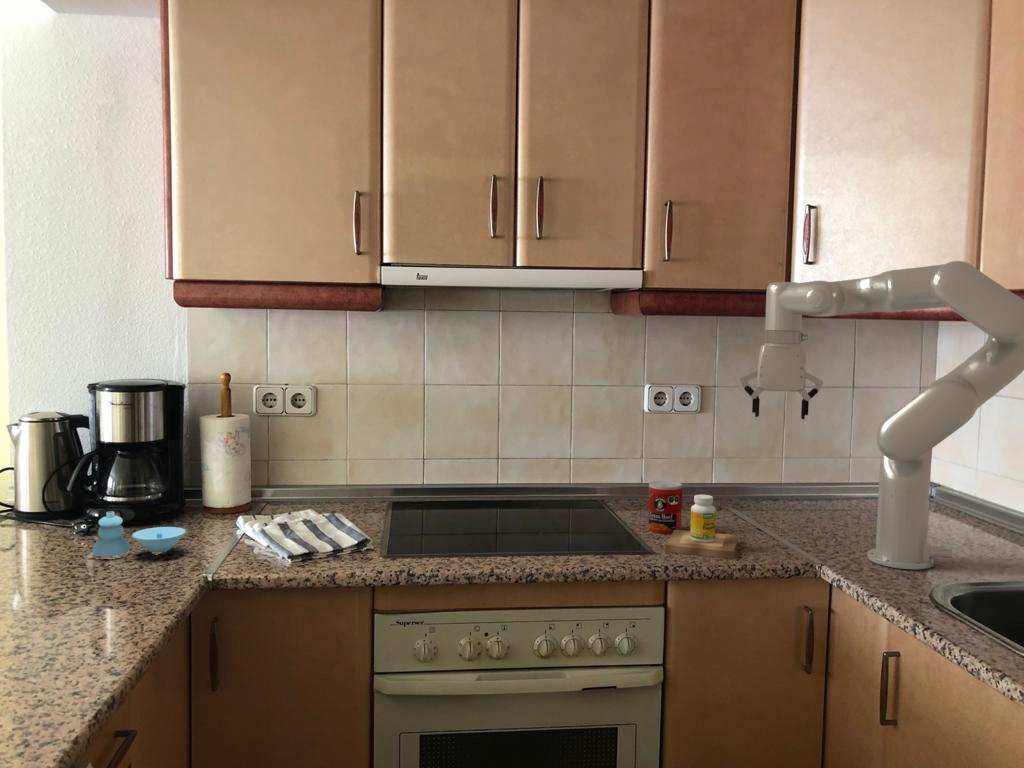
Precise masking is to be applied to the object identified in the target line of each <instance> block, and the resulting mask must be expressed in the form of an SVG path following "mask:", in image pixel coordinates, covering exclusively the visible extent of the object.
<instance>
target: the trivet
mask: <svg viewBox="0 0 1024 768" xmlns="http://www.w3.org/2000/svg"><path fill="white" fill-rule="evenodd" d="M690 533H691V530H683V529H680V530H674V532H673V533H672V534H671V535H670V537H669V538H668V540H667V542H666V543H665V553H672V554H673V553H674V554H682V555H683V554H684V555H691V556H692V555H693V556H703V557H712V558H725V559H734V556H735V553H736V549H737V546H738V542H739V541H738V537H739V535H738V534H728V533H726V534H725V533H716V532H715V540H714V541H713V542H697V541H693V540H692V539H691V537H690Z"/></svg>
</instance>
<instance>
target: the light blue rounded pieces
mask: <svg viewBox="0 0 1024 768" xmlns="http://www.w3.org/2000/svg"><path fill="white" fill-rule="evenodd" d="M105 513H106V516H103V517H102V518H100V519H99V520H98V525H99V526H100V527H99V528H98V530H97V535H98V537H99V539H98V540H97V541H95V544H94V546H93V549H92V556H93V555H95V556H101V557H104V556H115V555H120V554H124V553H127V552H128V551H129V549H130V544H129V542H128V540H127V539H126V538H124V537H123V534H124V533H125V529H124V527H123V526H122V525H121V524H122V523H123V518H122V517H121V516H118V515H115V511H107V512H105ZM186 533H187V529H186V528H183V527H179V526H178V527H176V526H159V527H157V526H156V527H151V528H150V527H149V528H145V529H140V530H137V531H135V532H133V533H132V534H131V537H132V538H133V539H134V540H136V542H138V543H139V544H140V545H141V546H143V548H144V549H146V550H147V551H148V552H149V553H151V552H165V551H168V550H169V551H170V550H171V549H172V548H173V547H174V546H175V545H176V544H177V543H178V542H179V540H180V539H181V538H182V537H183V536H184V535H185V534H186ZM169 551H168V552H169Z"/></svg>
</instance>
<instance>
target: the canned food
mask: <svg viewBox="0 0 1024 768" xmlns="http://www.w3.org/2000/svg"><path fill="white" fill-rule="evenodd" d="M647 509H648V510H647V516H648V517H647V526H648V530H649V531H650V532H651V533H652V532H653V533H655V532H656V534H662V533H663V534H664V535H665V534H667V535H670V534H671V535H672V533H673V532H674V530H682V529H681V528H682V518H683V517H682V516H683V515H682V513H683V510H682V509H683V483H681V482H678V481H673V480H655V481H650V482H649V484H648V505H647Z"/></svg>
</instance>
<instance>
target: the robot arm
mask: <svg viewBox="0 0 1024 768" xmlns="http://www.w3.org/2000/svg"><path fill="white" fill-rule="evenodd" d="M765 295H766V298H765V299H766V300H765V323H764V325H765V327H764V344H761V346H760V349H759V354H758V363H757V370H755V371H752V372H750V373H749V374H746V375H744V376H742V377H741V378H740V383H741V385H742V387H743V388H744V391H745V392H746V393H747V394H748V395H749V396H750V397H751V399H752V404H751V406H752V407H751V410H752V411H751V413H753V414H754V413H755V414H754V417H755V418H758V417H759V416H760V398H759V395H760V394H761V393H763V391H764V392H765V391H767V392H788V393H789V392H795V393H797V392H798V393H799V394H800V396H801V397H802V400H801V408H800V409H801V412H800V413H801V414H800V417H801V418H800V419H802V420H805V417H806V416H809V408H810V407H809V403H810V400H811V399H812V398H813V397H815V396H816V395H817V394H818V393H819V391H820V390H821V388H822V386H823V384H824V381H823V379H820V378H818V377H817V376H815V375H813V374H812V373H809V372H807V359H806V349H805V346H804V345H802V344H801V342H804V341H806V342H807V341H808V340H809V334H807V333H803V332H802V322H803V321H802V320H803V318H802V317H803V316H804V315H805V316H811V317H834V316H845V315H853V314H864V313H876V312H877V313H893V312H894V313H896V312H906V311H907V312H908V311H918V310H928V309H929V310H930V309H937V308H949V309H950V310H952V311H953V312H954V313H956V314H957V315H959V316H960V317H962V318H963V319H964V320H966V321H967V322H969V323H970V324H972V325H973V326H975V327H977V329H980V331H982V332H984V333H985V334H987V335H988V337H987V340H986V341H985V343H984V344H983V346H981V347H980V348H978V349H977V350H976V351H975V352H974V353H973V354H971V355H970V356H969V357H967V359H966V360H964V361H963V362H962V363H960V364H959V365H958V366H956V367H955V368H954V369H952V370H951V371H950V372H948V373H947V374H945V375H944V376H942V377H940V378H938V379H936V380H934V381H933V382H932V383H931V384H930V385H928V386H927V387H926V388H924V389H923V390H922V391H921V392H919V393H918V394H917V395H915V396H913V398H911V399H910V400H909V401H908V402H906V403H905V404H904V405H902V406H901V407H900V408H898V409H897V410H896V411H894V412H892V413H891V414H889V415H888V416H887V417H886V418H885V419H884V420H883V421H882V422H881V423H880V425H879V426H878V428H877V431H876V435H875V436H876V437H875V438H876V439H875V440H876V445H877V447H878V449H879V451H880V464H879V478H878V479H879V480H878V494H877V495H878V496H877V497H878V498H877V515H876V516H877V519H876V538H875V540H876V541H875V548H873V549H869V550H868V551H867V558H868V560H869V561H871V562H872V563H875V564H877V565H880V566H885V567H889V568H893V569H901V570H926V569H930V568H932V567H933V566H934V564H935V557H936V558H937V557H938V558H943V559H952V556H953V551H952V548H945V547H943V546H939V545H938V546H937V545H936V546H935V545H931V544H930V543H929V541H928V538H927V537H928V523H929V522H928V520H929V519H928V518H929V500H930V490H931V489H930V486H931V473H932V472H931V470H932V459H933V458H932V457H933V456H932V455H933V448H935V447H936V446H937V445H939V444H940V443H941V442H944V440H946V439H947V438H949V437H950V436H951V435H953V434H954V433H955V432H957V431H958V430H960V428H961V429H962V427H963V426H964V425H966V424H967V423H968V422H969V421H970V420H971V419H972V418H973V417H974V416H975V414H976V412H977V410H978V409H979V408H980V407H981V406H982V405H984V404H985V403H987V401H989V400H990V399H992V398H993V397H994V396H996V395H997V394H999V392H1000V391H1002V390H1003V389H1004V388H1005V387H1007V386H1008V385H1010V384H1011V383H1012V382H1013V381H1014V380H1015V379H1017V378H1018V377H1019V376H1020V375H1021V374H1022V373H1023V372H1024V299H1023V298H1021V297H1020V296H1018V295H1017V294H1015V293H1014V292H1012V291H1010V290H1009V289H1007V288H1006V287H1004V286H1003V285H1001V284H1000V283H998V282H996V281H995V280H993V278H991V277H989V276H987V274H985V273H984V272H983V271H982V270H981V271H980V270H979V269H978V268H977V267H976V266H974V265H973V264H971V263H969V262H967V261H964V260H962V261H961V260H953V261H950V262H949V261H948V262H946V263H943V264H937V265H935V264H934V265H931V266H930V265H928V266H920V267H911V268H909V267H908V268H900V269H893V270H888V271H883V272H882V273H879V274H878V273H877V274H876V275H872V276H868V277H867V276H866V277H861V278H854V279H845V280H836V281H835V280H834V281H826V280H812V281H805V282H795V281H794V282H793V281H777V282H776V281H774V282H771V283H769V284H768V286H767V288H766V294H765ZM802 315H803V316H802ZM753 379H756V386H757V388H755V390H754V389H753V388H752V387H751V386H750V384H749V381H751V380H753ZM807 380H808V381H810V382H812V383H814V386H813V388H811V390H810V391H807V390H806V389H805V387H806V382H807Z"/></svg>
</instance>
